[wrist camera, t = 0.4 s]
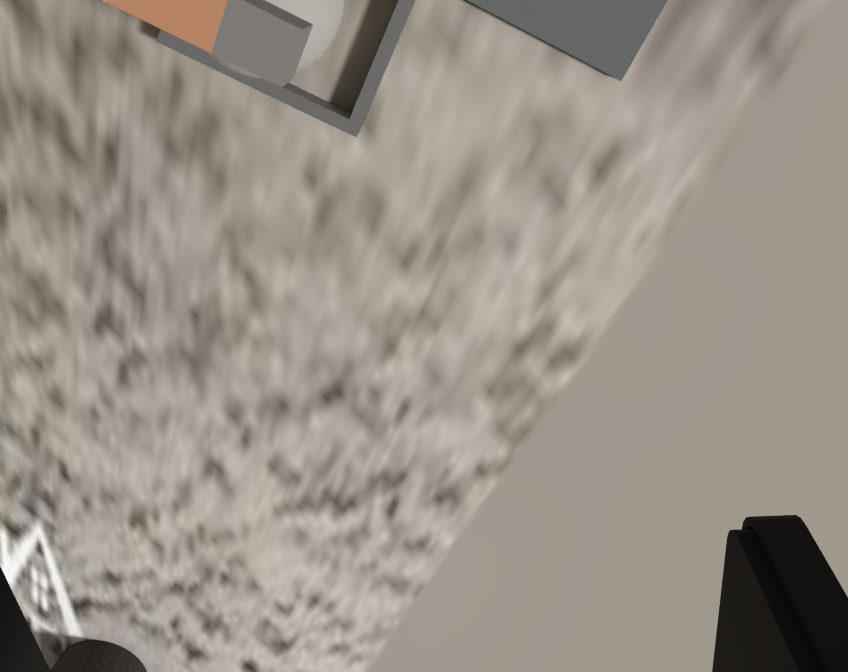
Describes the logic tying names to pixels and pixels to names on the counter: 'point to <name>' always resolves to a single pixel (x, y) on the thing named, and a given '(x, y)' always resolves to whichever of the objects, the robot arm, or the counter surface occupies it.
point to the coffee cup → (97, 658)
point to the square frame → (303, 98)
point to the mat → (585, 27)
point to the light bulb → (323, 9)
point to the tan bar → (232, 31)
